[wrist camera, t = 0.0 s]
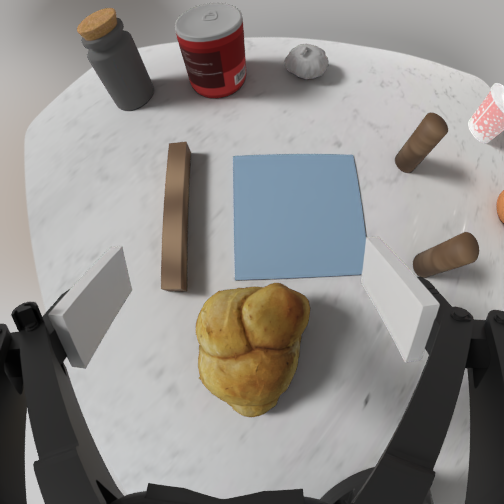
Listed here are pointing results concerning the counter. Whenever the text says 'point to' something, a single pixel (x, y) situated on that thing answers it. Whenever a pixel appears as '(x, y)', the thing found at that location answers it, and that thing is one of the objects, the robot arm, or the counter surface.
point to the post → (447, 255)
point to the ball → (501, 206)
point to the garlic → (306, 61)
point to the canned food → (213, 48)
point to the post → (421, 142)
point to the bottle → (116, 59)
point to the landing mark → (297, 216)
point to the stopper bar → (175, 218)
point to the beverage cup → (489, 116)
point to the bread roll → (251, 344)
